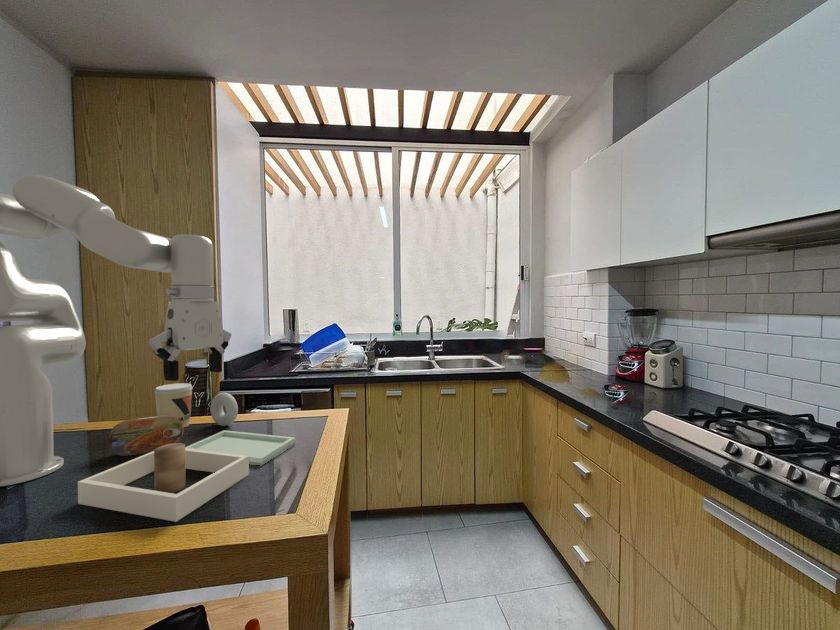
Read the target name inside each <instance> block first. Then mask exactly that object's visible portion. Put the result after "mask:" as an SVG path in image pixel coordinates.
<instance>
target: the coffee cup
mask: <svg viewBox="0 0 840 630" xmlns="http://www.w3.org/2000/svg"><path fill="white" fill-rule="evenodd" d="M193 389H194V388H193V385H192V383H188V382H183V383H182V382H178V383H169V384H163V385H159V386H156V387H155V389H154V397H155V398H154V400H155V408H156V416H165V415H170V416H174V417H176V418H178V419H179V420H180V421H181V422H182V424H183V427H184V428H186V427H188V426H190V423H191V415H192V414H191V412H192V400H193V399H192V397H193Z"/></svg>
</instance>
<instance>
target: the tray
mask: <svg viewBox="0 0 840 630" xmlns="http://www.w3.org/2000/svg"><path fill="white" fill-rule="evenodd" d="M295 445H296V437H293V436H285V435H284V436H282V435H275V434H274V435H273V434H264V433H256V432H255V433H254V432H244V431H236V430H235V431H233V430H228V429H227V430H222V431H219V432H217V433H214V434H213V435H210V436H208V437H205V438H203V439H201V440H199V441H196V442H194V443H191V444H190V445H187V446H185V448H187V449H195V450H204V451H212V452H220V453H228V454H237V455H245V456H249V464H250V465H249V466H255V465H260V466H259V467H263V466H264V465H263V464H265V463H266V464H267V462H268V461H269V462H271V461H272V460H273V458H274V459H275V458H276V457H278V456H280V455H281V454H283V453H284V451H285V452H286V451H287V449H288V450H289V449H290V448H292V447H294V446H295ZM271 459H272V460H271ZM270 460H271V461H270ZM269 462H268V463H269ZM266 464H265V465H266ZM262 465H263V466H262Z"/></svg>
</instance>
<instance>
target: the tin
mask: <svg viewBox="0 0 840 630" xmlns="http://www.w3.org/2000/svg"><path fill="white" fill-rule="evenodd" d="M184 428H185V427H183V424H182V422H181V421H180V420H179V419H178V418H176V417H174V416H170V415H165V416H157V415H156V416H149V417H139V418H131V419H126V420H124V421H121V422H119V423H117V424H116V425H114V426H113V427H112V428H111V429H110V430H109V432H108V435H107V438H106V443H107V447H108V449H109V450H110V451H111V452H112V453H114V454H115V455H118V456H121V457H122V456H123V457H127V456H128V455H129V456H135V455H142V454H143V455H144V454H147V453H150V452H152V451H154V450H155V449H156V448H158V447H160V446H163V445H167V444H172V443H180V441H181V439H182V437H183V435H184V431H185V429H184Z"/></svg>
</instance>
